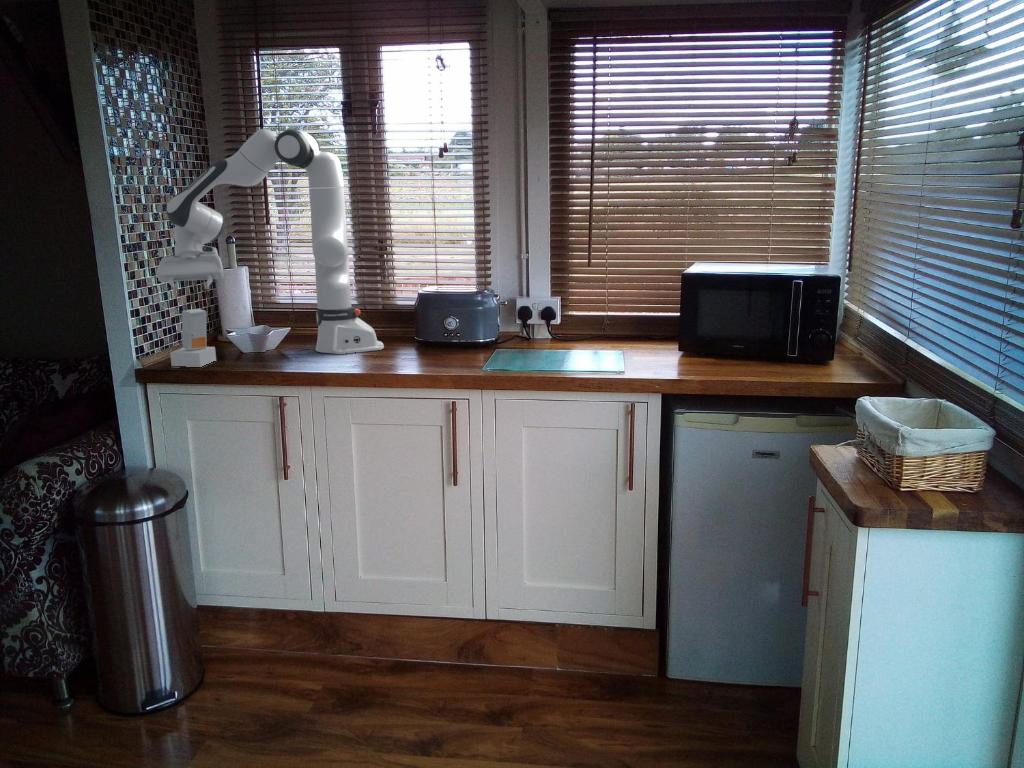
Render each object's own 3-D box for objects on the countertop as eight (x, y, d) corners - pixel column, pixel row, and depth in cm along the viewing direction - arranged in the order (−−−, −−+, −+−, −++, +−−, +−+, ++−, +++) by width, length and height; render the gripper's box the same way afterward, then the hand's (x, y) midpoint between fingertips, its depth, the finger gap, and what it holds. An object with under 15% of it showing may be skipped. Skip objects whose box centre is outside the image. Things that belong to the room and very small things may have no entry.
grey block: (216, 362, 264) (214, 346, 263) (200, 368, 255) (199, 352, 253) (188, 361, 265) (186, 346, 264) (171, 368, 256) (170, 352, 255)
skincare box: (190, 351, 256) (189, 312, 252) (182, 348, 258) (181, 310, 255) (207, 348, 260) (207, 310, 257) (199, 345, 263) (198, 308, 260)
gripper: (153, 250, 264) (154, 284, 257) (221, 247, 270) (223, 280, 263) (156, 263, 269) (157, 297, 263) (222, 260, 275) (225, 293, 269)
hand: (191, 288), depth 263 cm, fingers open, 8 cm apart
